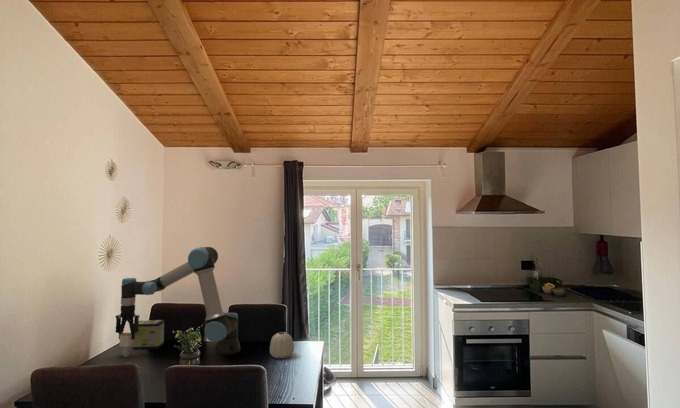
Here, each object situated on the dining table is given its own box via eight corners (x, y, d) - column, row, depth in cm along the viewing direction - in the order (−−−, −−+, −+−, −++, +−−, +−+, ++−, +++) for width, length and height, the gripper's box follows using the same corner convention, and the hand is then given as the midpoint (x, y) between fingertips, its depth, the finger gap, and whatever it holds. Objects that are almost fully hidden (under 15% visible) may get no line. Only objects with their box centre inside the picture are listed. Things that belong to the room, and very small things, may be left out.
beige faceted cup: (133, 344, 228) (133, 332, 229) (127, 346, 223) (128, 335, 224) (125, 344, 229) (125, 332, 229) (119, 346, 224) (119, 334, 224)
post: (129, 355, 227) (130, 343, 227) (126, 357, 224) (127, 344, 225) (125, 355, 227) (125, 343, 228) (122, 356, 224) (123, 344, 225)
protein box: (138, 344, 249) (139, 320, 250) (164, 344, 251) (164, 319, 252) (132, 349, 239) (132, 324, 240) (158, 348, 240) (159, 323, 241)
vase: (281, 351, 233) (281, 328, 234) (298, 355, 225) (298, 332, 226) (264, 357, 222) (264, 333, 223) (281, 362, 214) (282, 337, 215)
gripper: (146, 303, 231) (145, 343, 229) (117, 303, 232) (116, 342, 231) (138, 306, 223) (137, 347, 222) (109, 305, 225) (107, 346, 223)
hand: (126, 344), depth 226 cm, fingers closed on beige faceted cup, 5 cm apart
